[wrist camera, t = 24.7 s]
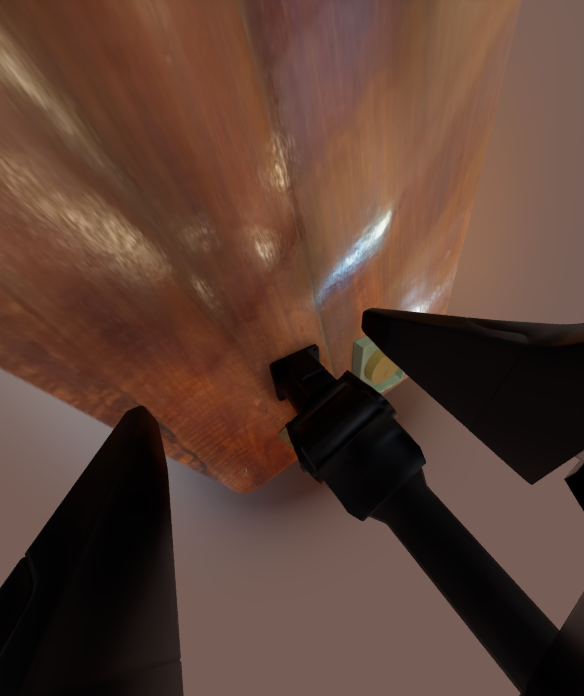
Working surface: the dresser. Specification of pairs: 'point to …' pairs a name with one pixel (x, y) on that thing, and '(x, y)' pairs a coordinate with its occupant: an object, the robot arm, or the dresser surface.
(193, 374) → the dresser surface
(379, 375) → the lid
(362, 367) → the tray
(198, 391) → the dresser surface
